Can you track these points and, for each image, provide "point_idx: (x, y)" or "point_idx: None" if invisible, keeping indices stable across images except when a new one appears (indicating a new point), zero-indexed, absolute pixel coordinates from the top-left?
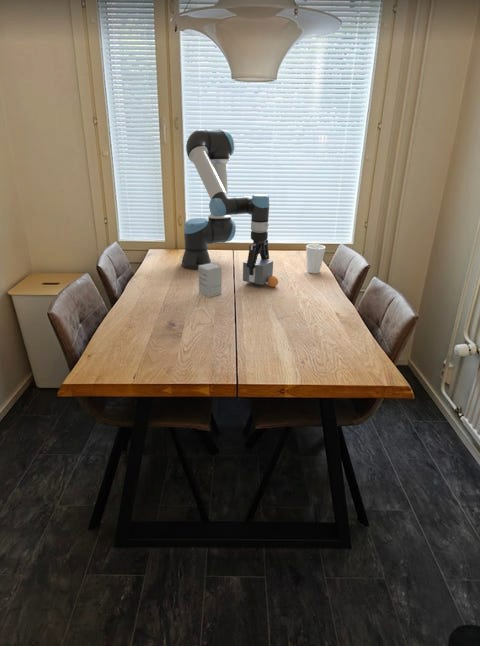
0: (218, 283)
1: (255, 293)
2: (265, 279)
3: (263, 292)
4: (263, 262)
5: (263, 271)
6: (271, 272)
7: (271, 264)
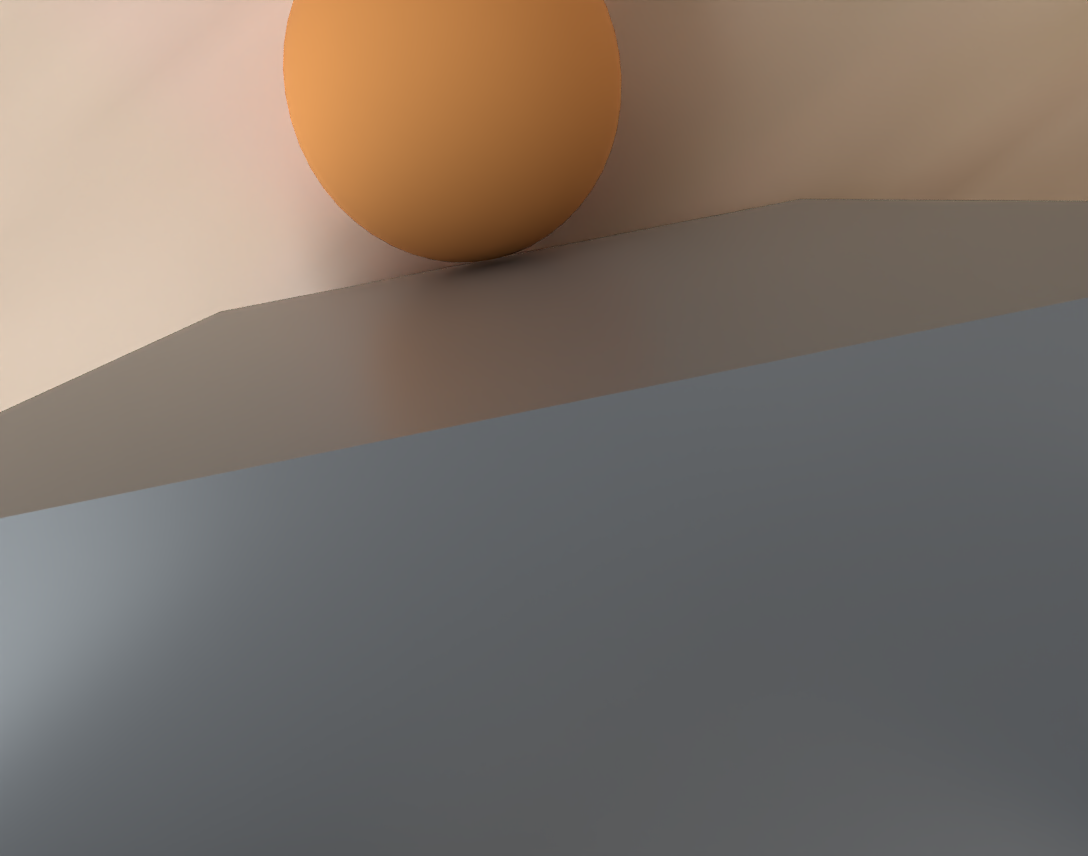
0: None
1: (1045, 142)
2: (656, 238)
3: (902, 40)
4: (671, 764)
5: (1051, 212)
6: (225, 335)
7: (93, 435)
